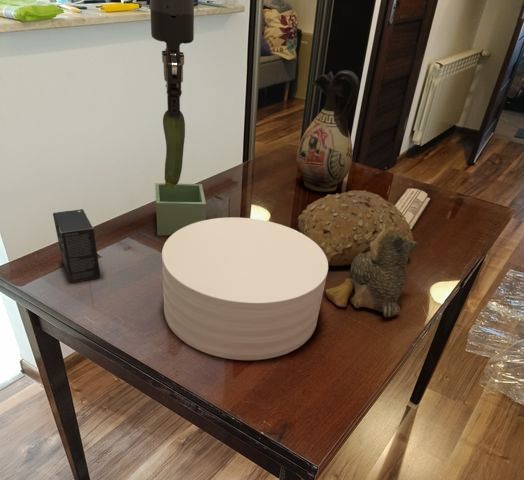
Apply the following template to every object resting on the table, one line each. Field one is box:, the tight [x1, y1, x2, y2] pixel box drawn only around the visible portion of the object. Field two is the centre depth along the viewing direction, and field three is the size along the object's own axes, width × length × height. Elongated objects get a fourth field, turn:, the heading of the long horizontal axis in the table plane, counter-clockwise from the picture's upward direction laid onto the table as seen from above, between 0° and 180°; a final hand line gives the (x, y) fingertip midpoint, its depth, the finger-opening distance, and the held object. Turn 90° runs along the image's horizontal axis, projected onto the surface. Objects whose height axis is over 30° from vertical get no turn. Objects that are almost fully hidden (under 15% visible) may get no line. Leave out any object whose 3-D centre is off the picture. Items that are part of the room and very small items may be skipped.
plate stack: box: [161, 217, 329, 361], centre depth 85 cm, size 28×28×12 cm
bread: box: [297, 189, 414, 267], centre depth 108 cm, size 24×21×12 cm
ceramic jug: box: [295, 69, 360, 193], centre depth 128 cm, size 17×15×30 cm
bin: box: [154, 182, 207, 237], centre depth 109 cm, size 11×11×8 cm
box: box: [52, 208, 101, 283], centre depth 90 cm, size 8×6×11 cm
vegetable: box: [162, 109, 186, 189], centre depth 99 cm, size 4×4×20 cm
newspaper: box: [394, 187, 431, 230], centre depth 131 cm, size 24×7×2 cm, turn 153°
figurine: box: [325, 229, 419, 318], centre depth 91 cm, size 14×15×15 cm
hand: (173, 113), depth 96 cm, fingers closed on vegetable, 3 cm apart
